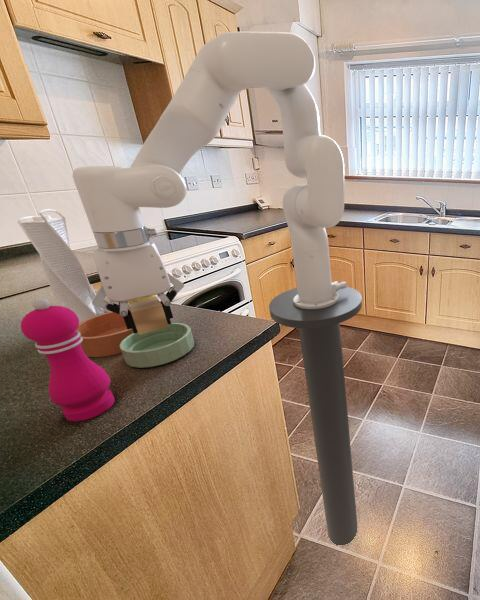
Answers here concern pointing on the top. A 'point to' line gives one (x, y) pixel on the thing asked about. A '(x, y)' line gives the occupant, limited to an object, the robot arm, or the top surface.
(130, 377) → the top surface
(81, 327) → the pan
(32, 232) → the skyscraper
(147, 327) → the beech block
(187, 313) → the top surface
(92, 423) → the top surface
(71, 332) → the pepper mill
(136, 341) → the dish
